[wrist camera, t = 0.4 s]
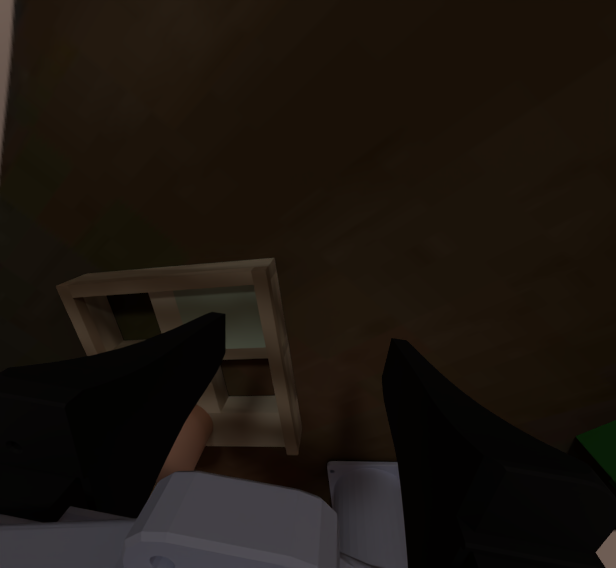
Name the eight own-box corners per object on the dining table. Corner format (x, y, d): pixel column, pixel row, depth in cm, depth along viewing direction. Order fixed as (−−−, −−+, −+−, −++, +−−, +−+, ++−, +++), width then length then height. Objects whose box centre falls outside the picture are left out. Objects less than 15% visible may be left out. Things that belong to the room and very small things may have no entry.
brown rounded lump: (218, 442, 27) (199, 485, 23) (168, 441, 27) (142, 484, 24) (205, 399, 25) (182, 439, 21) (152, 400, 26) (121, 439, 22)
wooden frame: (302, 428, 28) (298, 455, 25) (149, 428, 30) (131, 452, 27) (274, 257, 22) (265, 269, 19) (86, 273, 24) (55, 286, 21)
